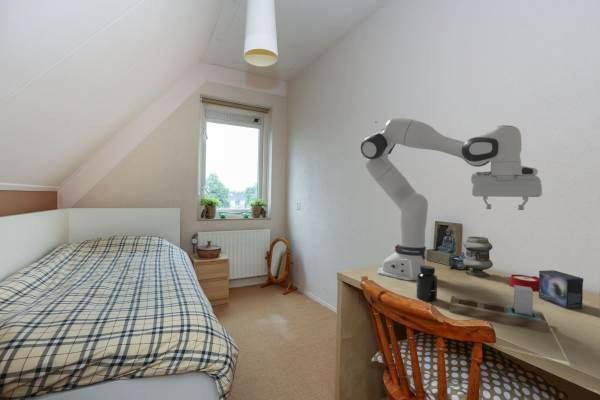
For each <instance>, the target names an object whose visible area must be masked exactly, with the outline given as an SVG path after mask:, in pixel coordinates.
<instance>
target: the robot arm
mask: <svg viewBox="0 0 600 400" xmlns="http://www.w3.org/2000/svg"><path fill="white" fill-rule="evenodd" d="M396 144H398V145H401V146H403V147H408V148H414V149H418V150H420V149H421V150H428V151H429V150H430V151H436V152H441V153H445V154H448V155H452V156H453V157H454V156H455V157H458V158H461V159H462V160H463V161H464V162H466V163H467V164H469V165H470V166H472V167H483V166H486V165H488V164H489V163H490V171H483V172H482V171H477V172H476V173H473V174H471V176H470V177H471V179H470V180H471V184H472V189H471V194H472V196H473V197H482V200H483V202H484V203H485V207H486V208H485V209H486V210H492V204H491V203H488V201H487V200H488V198H489V197H496V198H498V197H500V198H501V197H503V198H507V197H509V198H513V197H514V198H517V197H518V198H522V201H523V202H522V203H520V204H518V205H517V207H518V208H517V210H518V211H524V210H525V205H526V204H527V202H528V201H529V198H539V197H541V196H542V195H543V186H542V181H541V179H540V177H539V176H538V174H539V173H538V172H539V171H538V169H537V168H534V167H531V166H525V165H522V160H521V152H522V145H523V144H522V134H521V131H520V129H519V128H517V126H513V125H503V124H502V125H498V126H494V127H493V128H492V129H491V130H489V131H487V132H485V133H483V134H481V135H478V136H475V137H471V138H469V139H467V140H466V141H462V140H458V139H454V138H451V137H448V136H445V135H443V134H441V133H440V132H439V131H438V130H436V129H435V128H434V127H433V126H431V125H430V124H427V123H425V122H423V121H419V120H416V119H415V120H414V119H412V118H411V119H410V118H405V117H404V118H403V117H402V118H401V117H392V118H391V119H389V120H387V122H386V124H385V126H384V128H382V129H380V130H378V131H375V132H373V133H372V134H371V135H369V136H367V137H365V139H364V140H363V141H362V142H361V144H360V152H361V154H362V155H363V157H364V158H365V159H366V162H365V168H366V169H367V171H368V172H369V174H370V176H371V177H372V178H373V179H374V181H376V183H377V184H378V185H379V186H380V188H381V189H382V190H383V191H384V192H385V193H386V195H388V197H389V198H390V199H391V200H392V202H393V203H394V204H395V205H396V206H397V207H398V209H399V210H400V211H401V213H400V225H399V243H397V244H396V245H395V246H394V251H395V252H393V253H392V254H391V255H389V256H388V257H386V258H385V259H384V260H383V262H382V266H381V267H379V268H378V269H377V274H378V275H382V276H386V277H391V278H395V279H400V280H404V281H417V275H418V274H419V273H421V272H420V266H427V264H426V258H427V246H426V227H427V220H428V209H429V203H428V199H427V198H426V197H425V195H423V194H421V193H417V191H416V190H415V189H414V187H412V185H411V184H410V182H409V181H408V180H407V178H406V177H405V175H403V174H402V172H400V171H399V169H398V168H397V167H396V166H395V165H394V164H393V163H392V162H391V160H390V158H389V157H388V156H389V155H391V153H392V152H393V150H394V148H395V146H396Z"/></svg>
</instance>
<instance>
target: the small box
mask: <svg viewBox="0 0 600 400" xmlns="http://www.w3.org/2000/svg"><path fill="white" fill-rule="evenodd" d="M538 272H539V274H538V275H539V276H538V278H539V291H538V298H539V299H541V300H543V301H546V302H547V303H548V302H549V303H551V304H554V305H556V306H558V307H561V308H563V309H566V310H578V309H581V310H582V309H583V295H584V294H583V293H584V290H583V289H584V278H582V277H580V276H575V275H572V274H569V273H566V272H565V273H564V272H562V271H559V270H558V271H557V270H554V269H550V270H548V269H547V270H539V271H538Z"/></svg>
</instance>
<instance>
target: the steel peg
mask: <svg viewBox="0 0 600 400" xmlns="http://www.w3.org/2000/svg"><path fill="white" fill-rule="evenodd" d="M533 301H534V291H533V290H532V289H531V287H524V286H517V285H514V287H513V307H514V309H513V313H514V314H519V315H524V316H529V317H532V311H533V308H534V307H533V304H534V303H533Z"/></svg>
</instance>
